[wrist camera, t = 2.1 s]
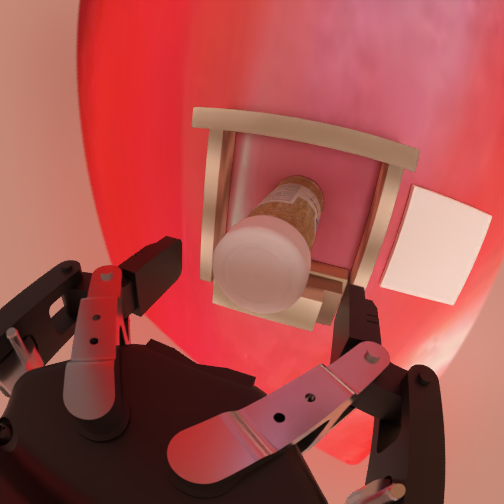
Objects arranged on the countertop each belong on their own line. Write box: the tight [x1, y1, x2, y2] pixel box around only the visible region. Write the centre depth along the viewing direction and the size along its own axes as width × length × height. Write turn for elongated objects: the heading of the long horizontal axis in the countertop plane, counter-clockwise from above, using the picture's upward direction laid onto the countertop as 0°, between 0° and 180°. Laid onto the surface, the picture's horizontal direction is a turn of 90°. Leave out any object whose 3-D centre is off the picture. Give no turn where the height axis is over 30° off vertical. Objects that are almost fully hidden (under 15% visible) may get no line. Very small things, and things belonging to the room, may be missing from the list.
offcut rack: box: [192, 107, 420, 331], centre depth 22 cm, size 16×15×6 cm
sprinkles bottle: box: [212, 176, 324, 314], centre depth 18 cm, size 5×5×14 cm
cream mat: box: [379, 184, 492, 305], centre depth 21 cm, size 10×9×1 cm
